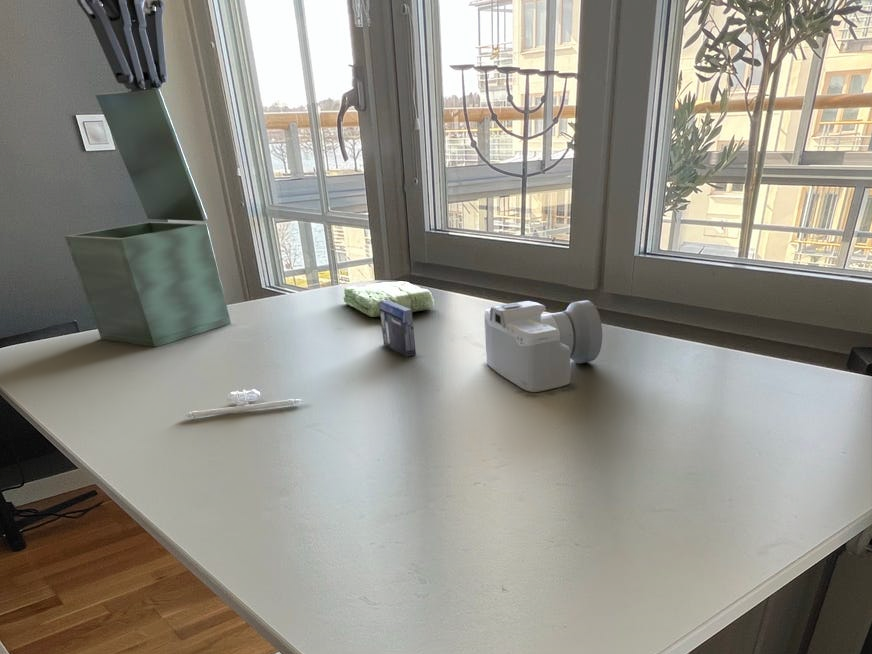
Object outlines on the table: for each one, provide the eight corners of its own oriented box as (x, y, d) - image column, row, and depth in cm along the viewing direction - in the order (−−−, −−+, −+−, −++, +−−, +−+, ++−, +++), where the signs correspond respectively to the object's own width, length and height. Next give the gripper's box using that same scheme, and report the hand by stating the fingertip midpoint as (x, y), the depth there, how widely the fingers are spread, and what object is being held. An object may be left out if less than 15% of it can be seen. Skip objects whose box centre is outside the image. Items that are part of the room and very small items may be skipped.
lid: (154, 89, 99) (159, 88, 99) (95, 95, 105) (99, 93, 106) (204, 221, 111) (207, 219, 111) (147, 219, 117) (151, 217, 118)
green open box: (155, 347, 110) (120, 239, 101) (100, 338, 116) (64, 236, 107) (231, 323, 121) (206, 223, 112) (178, 316, 127) (150, 221, 118)
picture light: (184, 419, 83) (178, 402, 81) (187, 408, 86) (181, 390, 85) (302, 404, 85) (299, 387, 84) (301, 394, 88) (297, 377, 87)
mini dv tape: (383, 344, 105) (378, 301, 102) (392, 342, 106) (388, 299, 102) (406, 356, 100) (401, 311, 96) (415, 354, 100) (411, 309, 97)
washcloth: (406, 293, 134) (404, 274, 132) (439, 310, 121) (437, 290, 119) (340, 302, 130) (337, 283, 128) (367, 321, 117) (364, 301, 115)
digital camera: (612, 411, 89) (628, 335, 81) (505, 420, 87) (511, 342, 79) (575, 347, 99) (586, 274, 92) (478, 353, 97) (482, 279, 89)
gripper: (75, -84, 88) (139, 144, 102) (160, -70, 97) (207, 139, 111) (41, -75, 91) (107, 145, 106) (125, -62, 100) (176, 140, 114)
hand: (158, 142), depth 108 cm, fingers closed
